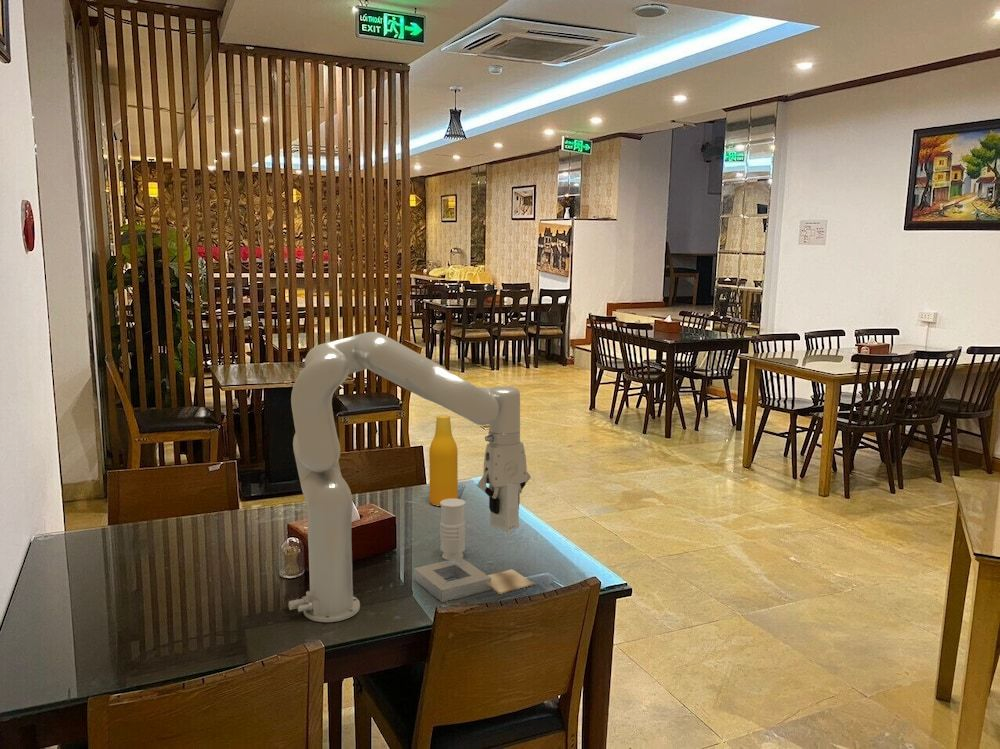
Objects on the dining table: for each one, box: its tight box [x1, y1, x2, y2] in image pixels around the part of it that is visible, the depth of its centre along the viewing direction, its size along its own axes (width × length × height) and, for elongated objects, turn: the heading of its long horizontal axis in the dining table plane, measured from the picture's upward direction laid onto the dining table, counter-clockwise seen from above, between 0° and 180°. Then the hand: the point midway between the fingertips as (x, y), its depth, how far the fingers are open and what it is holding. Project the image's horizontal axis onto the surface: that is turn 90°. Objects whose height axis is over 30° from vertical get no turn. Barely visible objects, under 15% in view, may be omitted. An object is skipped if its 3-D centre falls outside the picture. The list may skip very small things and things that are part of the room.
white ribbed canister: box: [439, 498, 466, 561], centre depth 205 cm, size 7×7×15 cm
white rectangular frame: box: [413, 557, 492, 603], centre depth 188 cm, size 14×15×3 cm
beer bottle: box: [428, 414, 459, 506], centre depth 248 cm, size 9×9×29 cm
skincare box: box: [489, 483, 520, 532], centre depth 186 cm, size 6×4×12 cm
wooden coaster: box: [488, 569, 535, 595], centre depth 189 cm, size 10×10×1 cm
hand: (504, 509), depth 186 cm, fingers closed on skincare box, 5 cm apart
